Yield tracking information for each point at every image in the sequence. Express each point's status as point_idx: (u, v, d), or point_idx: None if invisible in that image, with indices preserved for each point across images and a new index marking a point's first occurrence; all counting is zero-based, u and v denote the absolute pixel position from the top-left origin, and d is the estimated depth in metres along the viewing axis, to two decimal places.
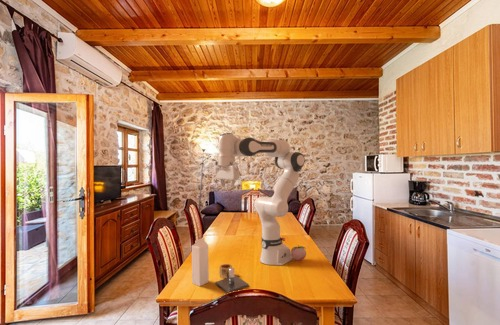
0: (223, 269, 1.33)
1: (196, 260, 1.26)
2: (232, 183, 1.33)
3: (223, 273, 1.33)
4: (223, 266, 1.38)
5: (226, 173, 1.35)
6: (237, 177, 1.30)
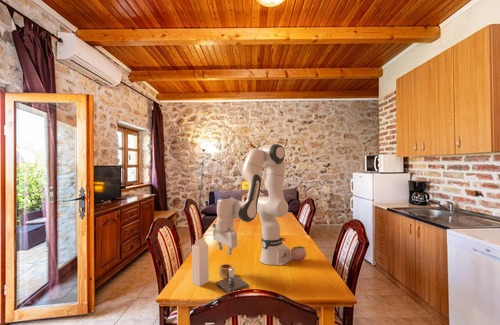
0: (223, 269, 1.33)
1: (196, 260, 1.26)
2: (230, 250, 1.31)
3: (223, 273, 1.33)
4: (223, 266, 1.38)
5: (224, 238, 1.33)
6: (235, 245, 1.28)
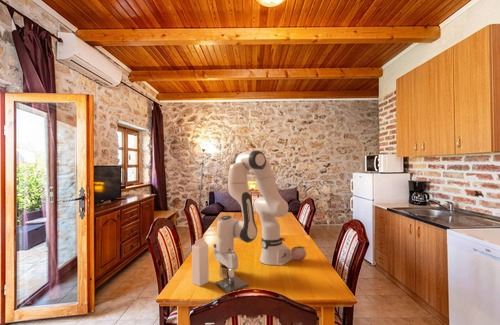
0: (223, 269, 1.33)
1: (196, 260, 1.26)
2: None
3: (223, 273, 1.33)
4: (223, 266, 1.38)
5: (225, 259, 1.33)
6: (236, 267, 1.28)
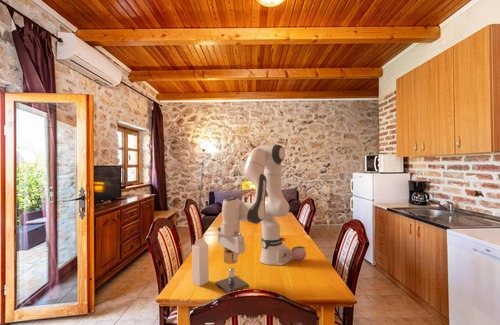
0: (228, 254, 1.22)
1: (196, 260, 1.26)
2: (235, 255, 1.21)
3: (228, 258, 1.22)
4: (228, 251, 1.27)
5: (230, 243, 1.22)
6: (242, 251, 1.17)
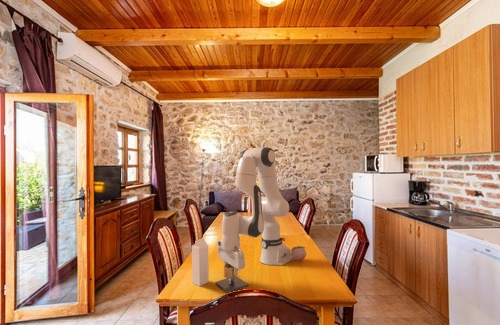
0: (228, 269, 1.22)
1: (196, 260, 1.26)
2: (236, 270, 1.21)
3: (228, 273, 1.22)
4: (228, 265, 1.27)
5: (230, 258, 1.22)
6: (242, 266, 1.17)
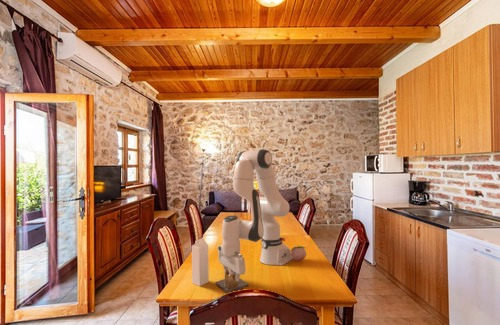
0: (229, 276, 1.22)
1: (196, 260, 1.26)
2: (237, 276, 1.20)
3: (229, 280, 1.22)
4: (228, 272, 1.27)
5: (231, 263, 1.22)
6: (243, 272, 1.17)
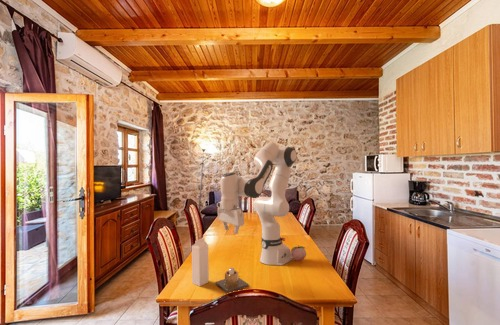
0: (229, 276, 1.22)
1: (196, 260, 1.26)
2: (236, 228, 1.24)
3: (229, 280, 1.22)
4: (228, 272, 1.27)
5: (230, 217, 1.26)
6: (242, 223, 1.21)
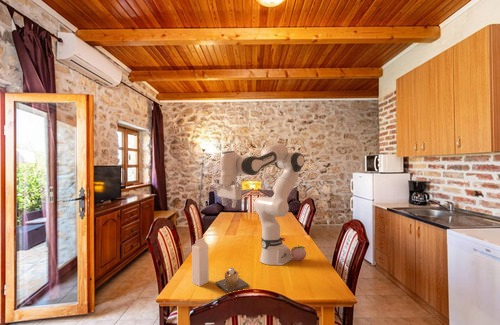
0: (229, 276, 1.22)
1: (196, 260, 1.26)
2: (234, 203, 1.31)
3: (229, 280, 1.22)
4: (228, 272, 1.27)
5: (228, 192, 1.33)
6: (239, 197, 1.29)
